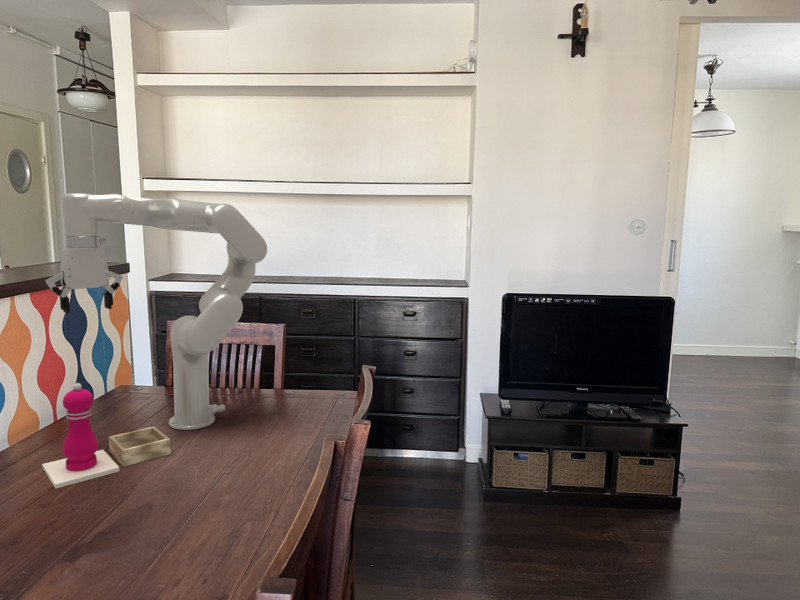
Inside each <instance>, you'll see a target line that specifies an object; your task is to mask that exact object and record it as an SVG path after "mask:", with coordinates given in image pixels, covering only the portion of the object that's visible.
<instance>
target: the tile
mask: <svg viewBox="0 0 800 600" xmlns="http://www.w3.org/2000/svg"><path fill="white" fill-rule="evenodd" d="M94 454H95V455H96V456H97V463H96V465H95V466H93V467H91V468H89V469H86V470H82V471H70V470H67V469H66V460H67V459H68V458H67V457H65V458H62V459H58V460H54V461H50V462H45V463H41V464H42V465H41V468H42V471H45V472H44V473H45V475H46V476H47V478H48V480H49V481H50V483H51V484H52V486H53V488H54V489H55V490H56V489H59V488H63V487H66V486H70V485H75V484H78V483H83V482H85V481H88V480H89V481H90V480H92V479H93V480H94V479H97V478H100V477H103V476H107V475H110V474H111V475H112V474H114V473H119V472H120V466H119V465H118V464H117V463H116V462H115V461H114V460H113V459H112V458H111V456H110V455H109V454H108V453H107V452H106V451H105V450H104V449H100V450H97V451H96V452H95V453H94Z"/></svg>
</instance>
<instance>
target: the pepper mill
mask: <svg viewBox="0 0 800 600" xmlns="http://www.w3.org/2000/svg"><path fill="white" fill-rule="evenodd" d="M72 389H73V390H70V391H68V392H67V393H65V395H64V397H63V399H62V406H63V407H64V409H65V410H67V411H66V412H65V414H66V416H65V418H67V420H68V430H67V434H66V437H65V439H64V440H63V444H62V454H63V456H64V457H65V458H68V459H67V460H66V469H67V470H70V471H82V470H86V469H89V468H91V467H93V466H95V465H96V463H97V456H96V455H95V454H94V453H95V452H96V451H98V449H99V441H98V438H97V436H96V435H95V433H94V431H93V429H92V427H91V424H90V416H91V415H92V408H90V407H91V406H92V404H93V403H94V398H93V394H92V393H91V392H90V391H89V390H88V389H84V388H83V385H82V384H81V383H79V382H77V383H74V384H73V385H72Z"/></svg>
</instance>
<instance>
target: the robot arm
mask: <svg viewBox="0 0 800 600" xmlns="http://www.w3.org/2000/svg"><path fill="white" fill-rule="evenodd" d="M62 207H63V221H64V223H63V224H64V234H65V235H64V237H65V238H64V239H65V248H62V249H61V257H60V271H59V273H57V274H55V275H52V276H51V277H49V278H47V279H45V283H46V285H47V286H48V287H49V289H50V290H51V292H53V293H55V294H56V295H57V296H58V297H59V303H60V304H59V305H60V310H61V311H63V313H64V314H69V313H71V307H70V306H71V304H70V297H69V296H68V295H69V294H70V292H71V291H72V290H81V289H83V290H84V289H96V288H102V289H103V290H104V291H105V292H104V293H103V299H104V301H103V302H104V308H106V309H107V310H111V309H112V308H113V306H114V296H113V294H114V293H115V292H116V290H117V289H118V288H119V287H120V284H121V282H122V280H123V279H124V277H123V275H121V274H119V273H117V272H114V271H111V270H109V267H108V261H107V257H106V253H105V250H104V248H103V247H102V246H103V245H106V244H107V238H103V237H102V236H101V233H100V231H101V229H100V222H101V223H102V222H103V223H107V224H108V223H109V224H118V225H119V224H122V225H135V226H145V227H152V228H158V229H161V230H162V229H163V230H170V231H181V232H182V231H185V232H194V233H207V234H219V235H220V236H221V237H222V238H223V239H224V240H225V241H226V253H227V257H228V263H227V266H226V268H225V270H224V271H223V273H222V274H221V275H220V277H218V278H217V279H216V281H215V282H214V283H213V284H212V285H211V286H210V287H209V288H208V290H207V291H206V292H205V293H203V295H202V296H201V298H200V299H199V302H198V309H199V311H200V313H199V315H198V316H194V315H183V316H181V317H179V318H177V319H176V320H175V321H174V322H173V324H172V326H171V329H170V332H169V334H170V344H171V345H170V346H171V351H172V352H171V353H172V354H171V355H172V368H173V369H172V370H173V371H172V372H173V374H172V375H173V407H174V408H173V409H174V415H173V416H172V417H170V419H169V420H168V426H169V427H170V428H172V429H175V430H178V431H182V430H183V431H191V430H192V431H193V430H199V429H204V428H206V427H209V426H210V425H212V424H213V423H215V420H216V418H215V417H216V416H215V414H216V413H221V412H224V411H226V406H225V404H219V405H217V403H214V404H210V386H209V385H210V384H209V383H210V382H209V378H210V376H209V375H210V374H209V370H210V369H209V353H211V352H212V351H213V350H214V349H216V347H217V346H219V344H220V343H221V342H222V341H223V340H224V338H225V337H226V336H227V335H228V334H229V332H230V331H231V330H232V329H233V328H234V327H235V325H236V324H238V322H239V320H240V319H241V317H242V315H243V310H244V305H243V301H242V299H241V298H242V297H243V296H244V295H245V294H246V292H247V291H248V290H249V288H250V287H251V286H252V284H253V281H254V279H255V277H256V276H255V275H256V267H257V266H256V264H259V263H260V262H262V261H263V260H264V259H265V258H266V255H267V253H268V246H267V242H266V240H265V238H264V237H263V236H262V235H261V234H260V232H258V231H257V229H256V228H255V227H254V226H253V225H252V224H251V223H250V222H249V221H248V220H247V218H246V217H245V216H244V215H242V213H241V212H240V211H239V210H238V209H237V208H236V207H234V206H233V205H231V204H229V203H214V202H207V201H206V202H203V201H195V200H187V199H181V198H167V197H166V198H165V197H163V198H142V197H133V196H125V195H124V194H120V193H109V194H91V193H84V192H83V193H81V192H79V193H77V192H74V193H73V192H69V193H65V194H64V195H63V197H62ZM101 247H102V248H101ZM110 277H112V278H113V279H114V281H113V282H112V284H111V285H110ZM59 281H60V284H61V286H62V287H61V289H60V288H58V287H57V285H56V282H59Z"/></svg>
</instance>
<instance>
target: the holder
mask: <svg viewBox="0 0 800 600" xmlns="http://www.w3.org/2000/svg"><path fill="white" fill-rule="evenodd" d="M108 448H109V449H108V452H109V453H110V454H111V455H112V456H113V457H114V459H116V460H117V461H118V462H119V464H120V465H121V466H122V467H128V466H131V465H136V464H138V463H143V462H146V461H147V462H148V461H151V460H153V459H157V458H161V457H165V456H169V455H171V438H169V436H167V435H166V434H164V433H163V432H162V431H160V430H159V429H158V428H157V427H156V426H149V427H146V428H140V429H137V430H132V431H128V432H124V433H119V434H115V435H110V436H108Z"/></svg>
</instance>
